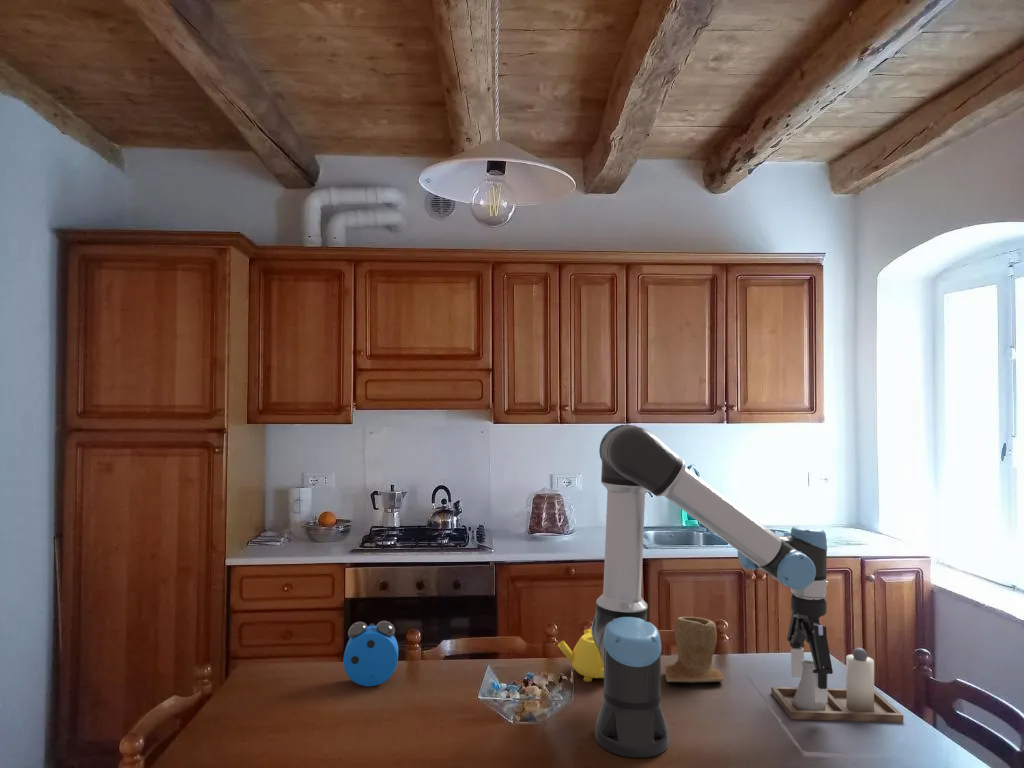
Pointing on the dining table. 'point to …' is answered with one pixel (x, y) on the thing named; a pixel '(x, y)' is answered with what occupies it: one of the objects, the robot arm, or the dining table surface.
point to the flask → (807, 690)
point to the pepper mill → (860, 681)
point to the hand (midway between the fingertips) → (808, 688)
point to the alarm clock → (371, 653)
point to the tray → (837, 707)
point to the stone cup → (694, 652)
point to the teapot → (585, 657)
